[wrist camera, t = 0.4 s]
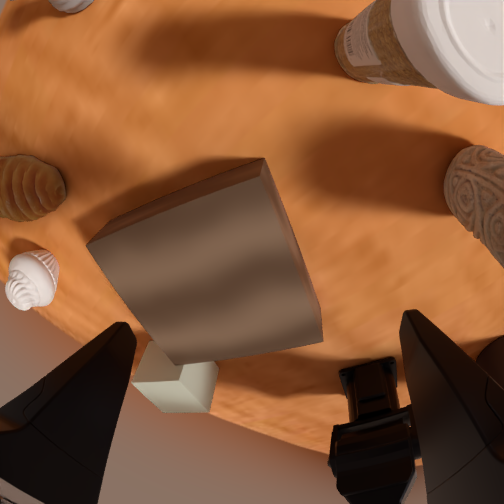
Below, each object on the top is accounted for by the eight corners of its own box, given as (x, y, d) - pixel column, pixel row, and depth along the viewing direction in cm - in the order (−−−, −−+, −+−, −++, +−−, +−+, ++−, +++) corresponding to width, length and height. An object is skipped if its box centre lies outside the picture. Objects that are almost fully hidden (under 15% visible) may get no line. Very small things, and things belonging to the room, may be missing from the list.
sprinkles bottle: (381, 96, 17) (512, 142, 5) (320, 60, 16) (384, 28, 5) (410, 44, 14) (557, 34, 3) (350, 7, 14) (444, -78, 2)
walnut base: (320, 307, 27) (323, 341, 23) (185, 335, 30) (175, 365, 27) (264, 158, 20) (259, 176, 17) (109, 220, 24) (85, 245, 21)
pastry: (63, 145, 21) (35, 160, 18) (76, 216, 25) (53, 237, 21) (1, 154, 21) (-24, 168, 18) (15, 213, 25) (-7, 231, 22)
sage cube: (219, 367, 33) (209, 412, 28) (176, 372, 35) (163, 412, 30) (193, 333, 30) (178, 380, 25) (149, 340, 32) (131, 382, 27)
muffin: (62, 293, 30) (31, 335, 24) (25, 260, 28) (-10, 298, 22) (76, 262, 27) (39, 308, 21) (35, 226, 25) (-8, 264, 19)
